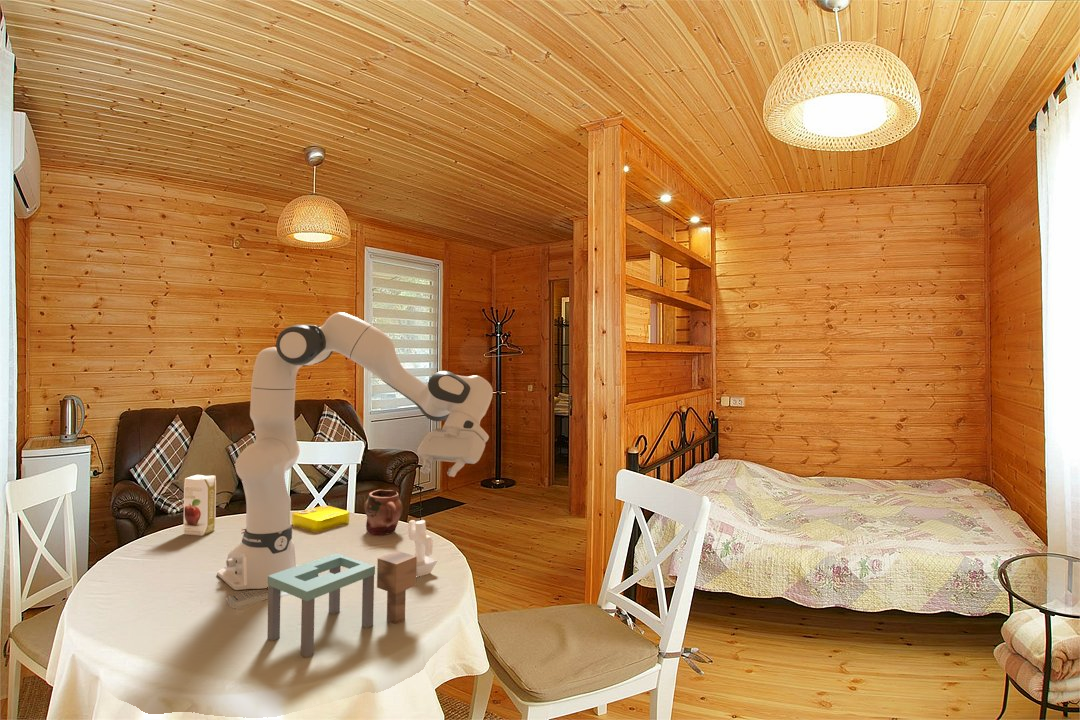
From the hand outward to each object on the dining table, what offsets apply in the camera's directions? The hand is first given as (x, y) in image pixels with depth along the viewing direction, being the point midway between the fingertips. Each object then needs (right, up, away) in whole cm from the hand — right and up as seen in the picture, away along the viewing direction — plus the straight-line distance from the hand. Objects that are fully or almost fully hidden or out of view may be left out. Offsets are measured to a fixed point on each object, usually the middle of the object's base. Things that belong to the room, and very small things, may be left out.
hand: (437, 474), depth 152 cm
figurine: (-8, -32, +17) cm, 37 cm away
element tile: (-53, -30, +61) cm, 86 cm away
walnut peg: (-8, -33, -12) cm, 35 cm away
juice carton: (-89, -29, +47) cm, 105 cm away
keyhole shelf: (-23, -32, -18) cm, 44 cm away
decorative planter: (-28, -31, +52) cm, 66 cm away
